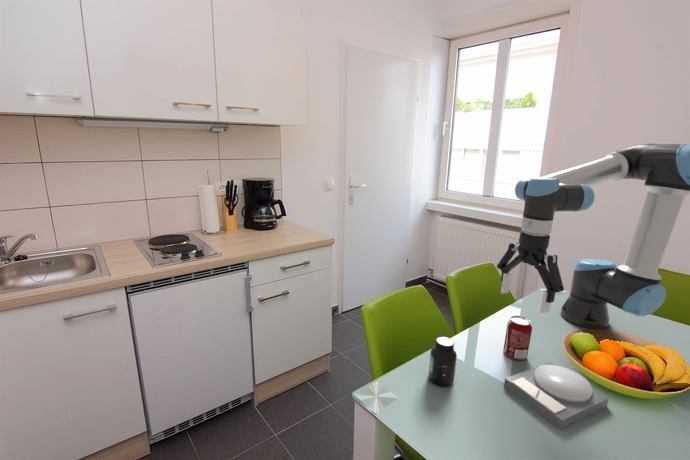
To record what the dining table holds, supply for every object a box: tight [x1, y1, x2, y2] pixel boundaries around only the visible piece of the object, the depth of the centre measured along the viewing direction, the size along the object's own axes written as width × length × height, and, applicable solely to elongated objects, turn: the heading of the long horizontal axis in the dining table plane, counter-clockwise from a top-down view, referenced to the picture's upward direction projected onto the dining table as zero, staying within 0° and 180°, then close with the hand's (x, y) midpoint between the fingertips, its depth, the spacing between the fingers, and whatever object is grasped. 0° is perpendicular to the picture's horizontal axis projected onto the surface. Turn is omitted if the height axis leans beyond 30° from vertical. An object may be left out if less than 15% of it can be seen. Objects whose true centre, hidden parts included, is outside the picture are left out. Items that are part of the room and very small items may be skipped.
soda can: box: [503, 315, 533, 361], centre depth 108 cm, size 7×7×12 cm
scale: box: [503, 361, 610, 430], centre depth 92 cm, size 18×16×4 cm
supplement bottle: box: [428, 336, 458, 388], centre depth 96 cm, size 7×7×12 cm
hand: (523, 301), depth 105 cm, fingers open, 13 cm apart
